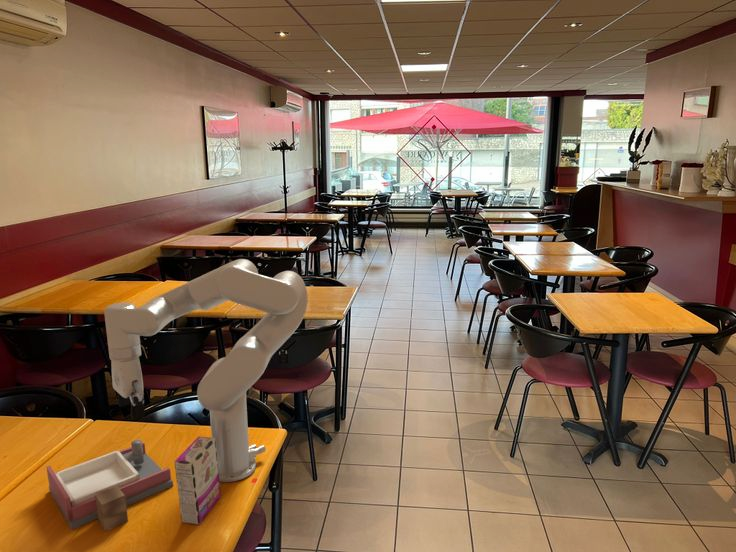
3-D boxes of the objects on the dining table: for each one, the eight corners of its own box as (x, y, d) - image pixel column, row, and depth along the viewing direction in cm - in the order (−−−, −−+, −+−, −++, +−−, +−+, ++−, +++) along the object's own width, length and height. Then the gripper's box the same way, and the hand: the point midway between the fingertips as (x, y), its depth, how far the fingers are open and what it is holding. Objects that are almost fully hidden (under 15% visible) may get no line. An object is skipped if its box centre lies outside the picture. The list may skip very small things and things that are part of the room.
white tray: (137, 456, 150) (134, 433, 148) (159, 480, 139) (157, 456, 137) (56, 487, 136) (52, 462, 135) (73, 516, 125) (69, 490, 124)
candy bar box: (203, 494, 135) (198, 435, 132) (221, 496, 134) (216, 437, 131) (179, 523, 125) (173, 460, 121) (199, 526, 124) (193, 462, 120)
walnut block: (120, 511, 129) (117, 485, 128) (128, 521, 126) (124, 495, 124) (98, 521, 126) (94, 494, 124) (105, 531, 122) (101, 504, 121)
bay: (143, 455, 153) (140, 431, 152) (173, 485, 139) (170, 459, 137) (49, 491, 137) (45, 465, 136) (71, 529, 123) (67, 501, 121)
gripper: (98, 345, 142) (106, 405, 146) (121, 364, 129) (129, 428, 133) (127, 339, 147) (134, 396, 150) (152, 356, 134) (159, 418, 138)
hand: (131, 411), depth 142 cm, fingers open, 9 cm apart
